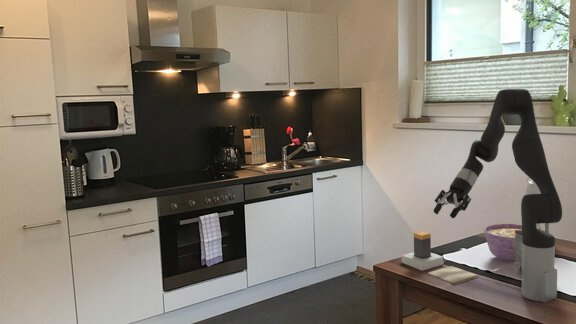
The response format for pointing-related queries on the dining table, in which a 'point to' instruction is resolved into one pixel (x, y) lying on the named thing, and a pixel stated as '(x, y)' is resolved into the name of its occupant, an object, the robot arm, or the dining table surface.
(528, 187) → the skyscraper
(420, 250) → the grey square pillar
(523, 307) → the dining table surface
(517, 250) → the coffee box
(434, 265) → the white square block
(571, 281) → the dining table surface
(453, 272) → the mat
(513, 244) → the bowl of food
